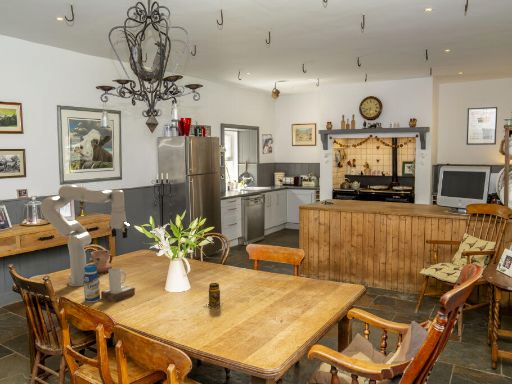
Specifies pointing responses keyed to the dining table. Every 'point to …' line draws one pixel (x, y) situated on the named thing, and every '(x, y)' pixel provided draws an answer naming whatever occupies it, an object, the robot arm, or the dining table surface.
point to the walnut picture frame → (118, 293)
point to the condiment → (214, 295)
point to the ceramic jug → (101, 260)
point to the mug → (116, 279)
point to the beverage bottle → (91, 283)
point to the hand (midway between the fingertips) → (119, 237)
